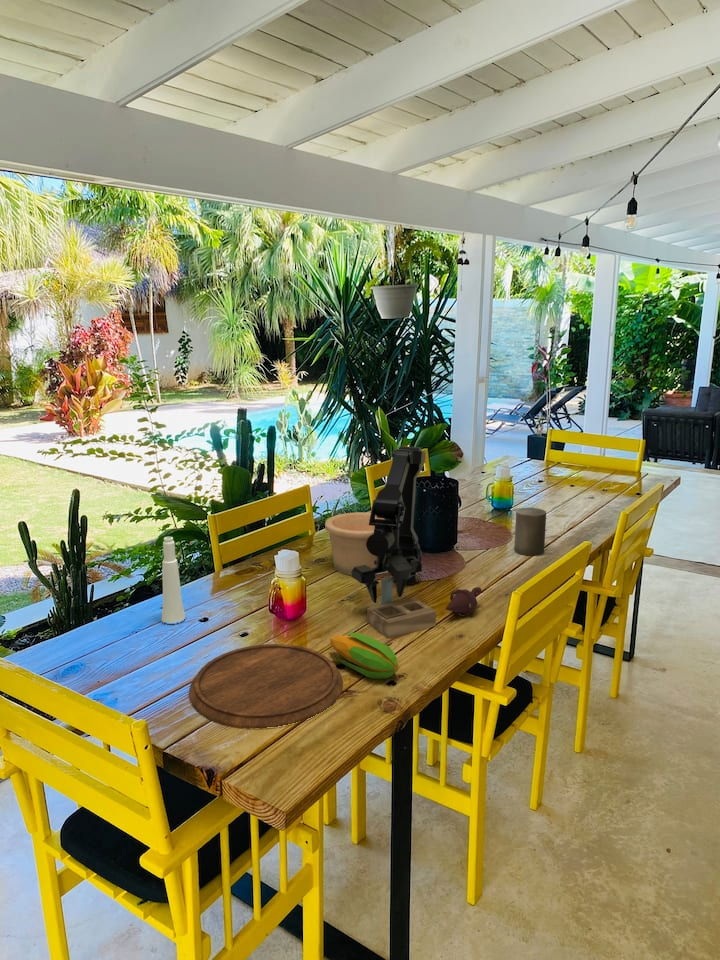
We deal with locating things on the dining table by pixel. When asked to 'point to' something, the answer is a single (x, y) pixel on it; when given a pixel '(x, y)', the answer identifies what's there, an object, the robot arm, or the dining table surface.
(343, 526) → the pottery
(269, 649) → the cutting board
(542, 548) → the pillar candle
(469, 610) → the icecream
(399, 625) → the socket block
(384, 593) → the dowel
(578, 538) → the dining table surface
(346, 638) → the corn
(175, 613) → the cosmetic bottle
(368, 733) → the dining table surface
